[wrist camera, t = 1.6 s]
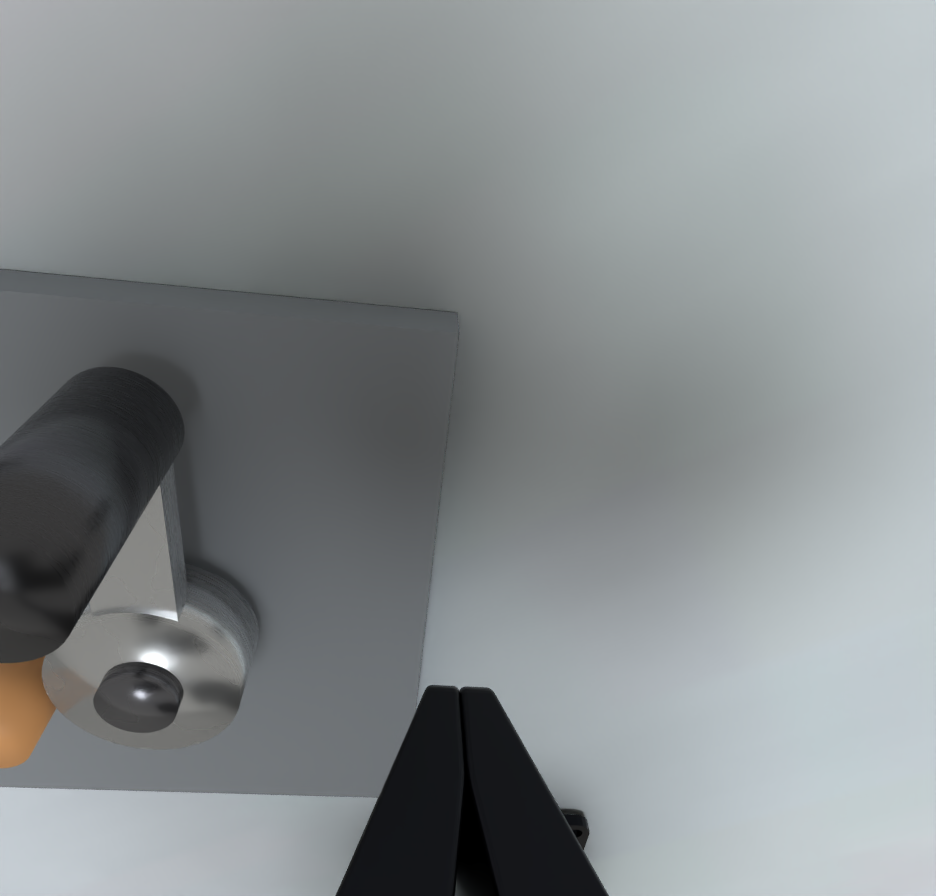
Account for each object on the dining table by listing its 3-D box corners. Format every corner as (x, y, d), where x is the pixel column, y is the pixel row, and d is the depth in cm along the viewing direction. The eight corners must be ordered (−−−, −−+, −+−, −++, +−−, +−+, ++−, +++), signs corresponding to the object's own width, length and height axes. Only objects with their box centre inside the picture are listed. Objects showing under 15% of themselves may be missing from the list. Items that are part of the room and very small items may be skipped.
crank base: (406, 764, 24) (402, 875, 20) (-1, 751, 22) (-70, 867, 19) (457, 312, 15) (463, 383, 12) (-177, 252, 14) (-346, 313, 11)
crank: (261, 688, 19) (199, 929, 14) (94, 681, 19) (-34, 926, 14) (244, 355, 14) (137, 542, 9) (16, 335, 14) (-232, 519, 9)
